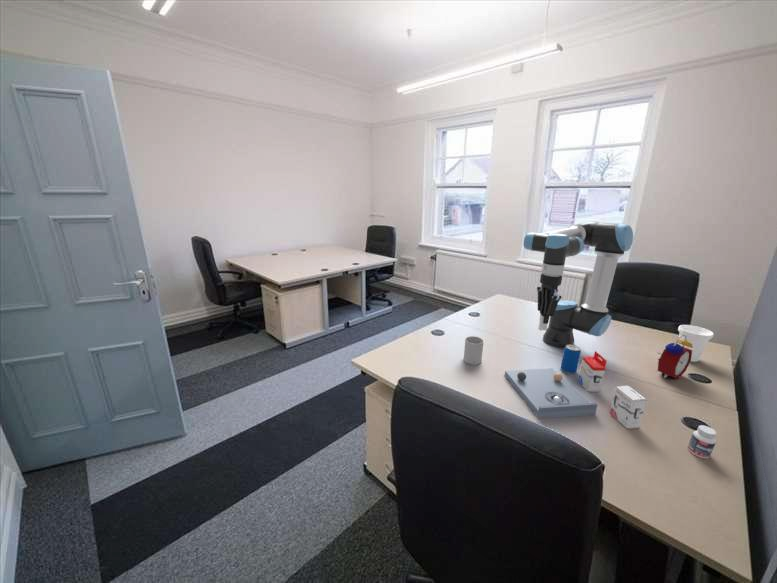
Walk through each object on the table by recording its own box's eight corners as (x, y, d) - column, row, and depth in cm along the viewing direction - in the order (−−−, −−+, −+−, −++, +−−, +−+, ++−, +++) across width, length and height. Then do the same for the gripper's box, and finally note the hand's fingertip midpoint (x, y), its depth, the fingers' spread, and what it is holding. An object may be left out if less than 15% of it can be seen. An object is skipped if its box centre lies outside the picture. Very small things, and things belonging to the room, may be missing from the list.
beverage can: (574, 368, 149) (579, 345, 145) (577, 375, 143) (582, 351, 140) (559, 366, 151) (563, 343, 147) (561, 373, 145) (566, 349, 142)
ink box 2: (577, 380, 140) (583, 350, 136) (588, 380, 140) (595, 350, 135) (588, 392, 132) (595, 360, 127) (600, 392, 132) (608, 360, 127)
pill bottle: (692, 456, 101) (700, 433, 98) (684, 444, 105) (692, 421, 102) (713, 461, 99) (722, 437, 96) (704, 448, 103) (713, 426, 101)
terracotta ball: (558, 378, 137) (560, 370, 136) (563, 382, 134) (565, 375, 133) (551, 378, 137) (552, 371, 136) (555, 383, 133) (557, 376, 132)
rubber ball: (523, 377, 137) (524, 370, 136) (527, 382, 134) (528, 374, 133) (515, 377, 137) (516, 370, 136) (519, 382, 134) (520, 375, 133)
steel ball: (562, 395, 123) (565, 404, 121) (557, 397, 126) (560, 406, 124) (553, 395, 123) (556, 404, 121) (549, 397, 126) (552, 407, 124)
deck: (504, 375, 143) (505, 366, 142) (551, 373, 145) (552, 364, 144) (539, 418, 117) (540, 408, 115) (595, 414, 119) (597, 404, 117)
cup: (703, 357, 159) (713, 329, 154) (703, 367, 150) (714, 338, 145) (671, 349, 167) (679, 322, 162) (669, 358, 158) (678, 330, 154)
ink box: (608, 412, 120) (615, 385, 116) (620, 412, 120) (628, 384, 116) (626, 429, 112) (634, 400, 108) (640, 428, 112) (648, 399, 108)
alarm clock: (670, 383, 138) (683, 341, 132) (647, 373, 145) (659, 333, 139) (686, 374, 145) (700, 334, 138) (664, 365, 152) (675, 327, 146)
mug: (481, 366, 151) (483, 345, 147) (463, 363, 153) (464, 342, 149) (481, 354, 162) (483, 334, 158) (464, 351, 164) (465, 332, 160)
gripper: (533, 270, 130) (525, 323, 138) (552, 278, 118) (542, 336, 125) (551, 269, 131) (542, 322, 138) (571, 278, 119) (560, 336, 126)
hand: (542, 329), depth 132 cm, fingers closed
